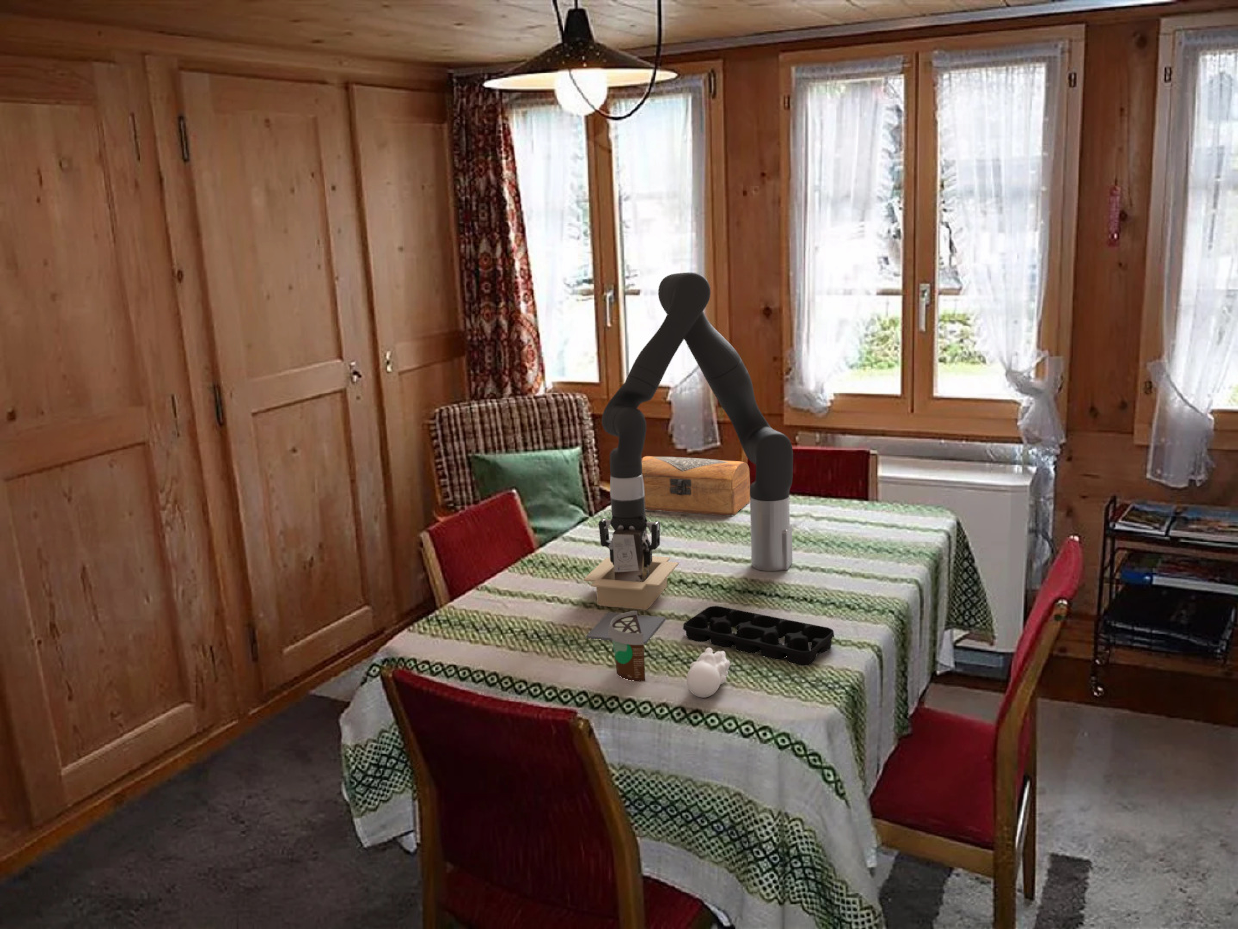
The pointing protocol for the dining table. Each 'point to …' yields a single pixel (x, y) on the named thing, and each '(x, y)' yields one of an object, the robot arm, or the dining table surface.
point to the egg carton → (759, 634)
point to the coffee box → (629, 556)
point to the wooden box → (695, 485)
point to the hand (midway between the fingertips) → (631, 565)
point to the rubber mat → (646, 622)
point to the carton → (630, 584)
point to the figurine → (707, 673)
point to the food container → (628, 646)
